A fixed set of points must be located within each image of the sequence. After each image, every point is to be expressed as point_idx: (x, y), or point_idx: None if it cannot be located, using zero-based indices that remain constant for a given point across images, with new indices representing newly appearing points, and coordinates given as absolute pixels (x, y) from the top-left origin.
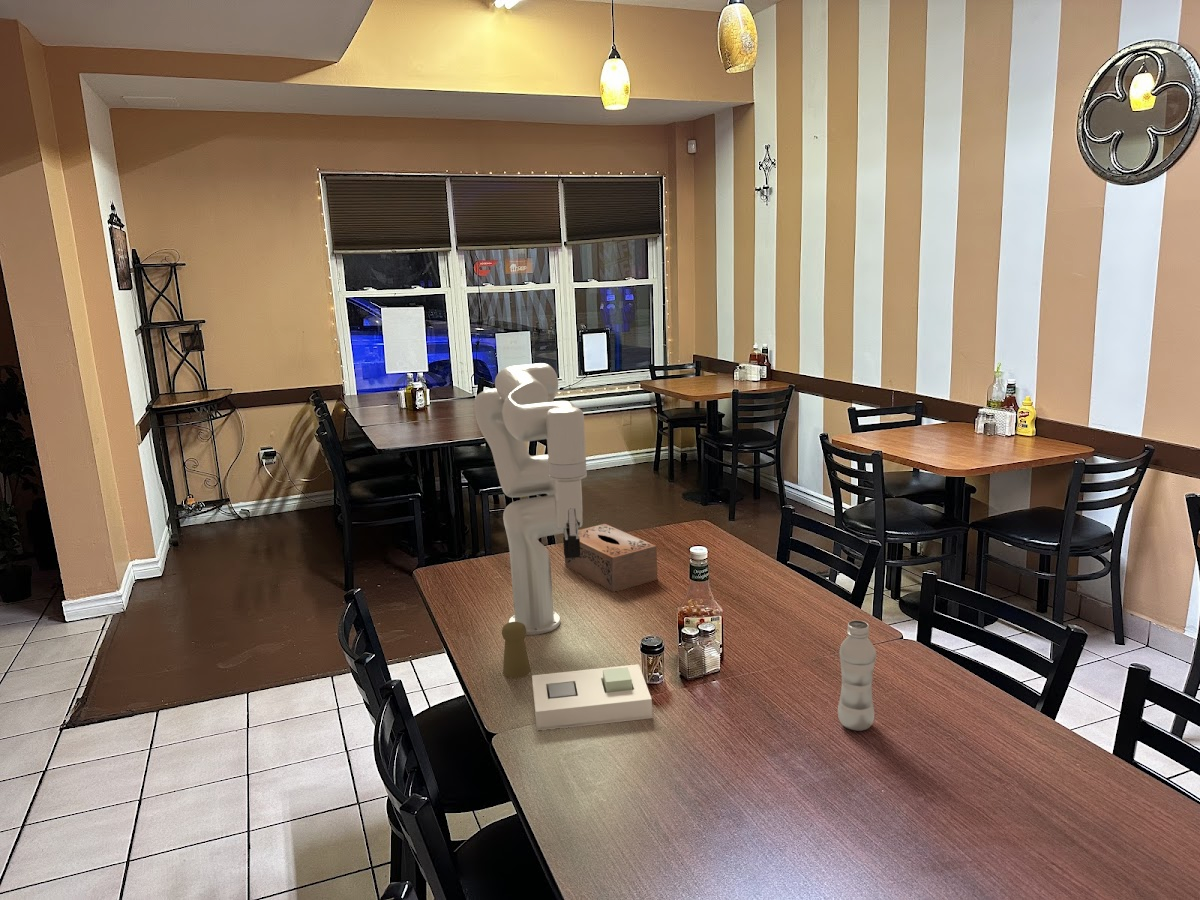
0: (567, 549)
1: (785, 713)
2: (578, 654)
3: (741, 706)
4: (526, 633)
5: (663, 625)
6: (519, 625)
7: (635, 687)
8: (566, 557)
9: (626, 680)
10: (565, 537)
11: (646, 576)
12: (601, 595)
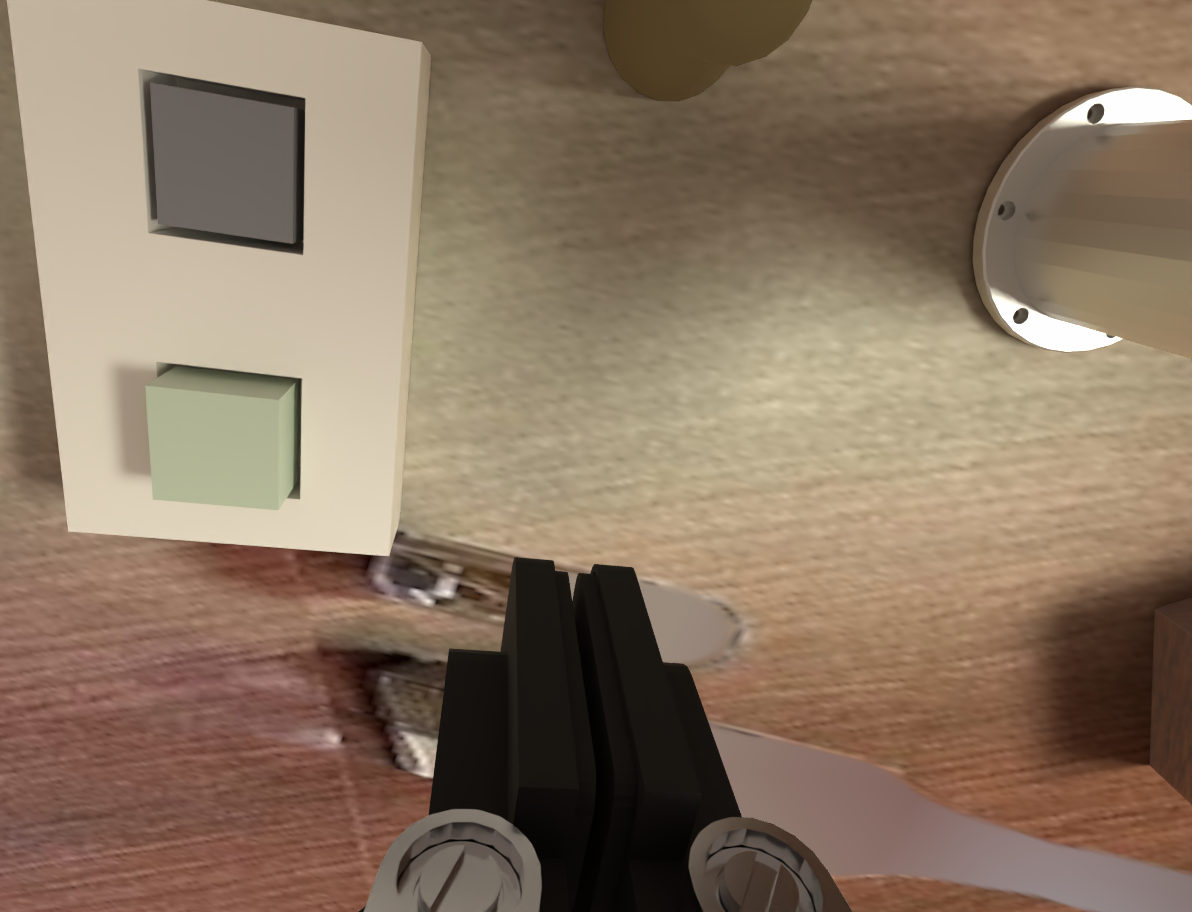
0: (512, 678)
1: (83, 855)
2: (712, 350)
3: (148, 765)
4: (1007, 160)
5: (794, 697)
6: (722, 2)
7: None
8: (511, 576)
9: (152, 476)
10: (372, 905)
11: (1172, 746)
12: (1161, 559)
